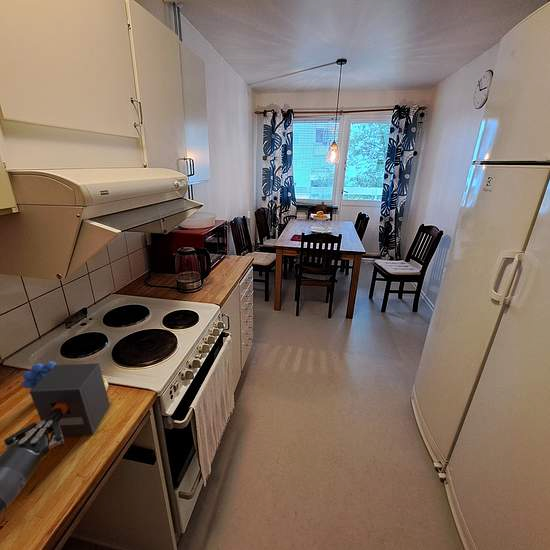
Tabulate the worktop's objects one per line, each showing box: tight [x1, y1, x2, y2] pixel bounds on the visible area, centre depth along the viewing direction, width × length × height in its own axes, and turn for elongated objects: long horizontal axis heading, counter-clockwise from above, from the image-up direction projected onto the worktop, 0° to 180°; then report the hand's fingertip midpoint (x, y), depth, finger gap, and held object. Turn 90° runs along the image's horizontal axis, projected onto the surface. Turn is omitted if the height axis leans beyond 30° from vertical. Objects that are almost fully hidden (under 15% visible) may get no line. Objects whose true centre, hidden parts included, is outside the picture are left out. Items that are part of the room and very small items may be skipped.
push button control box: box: [29, 363, 111, 438], centre depth 80 cm, size 12×10×16 cm
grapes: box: [21, 361, 58, 391], centre depth 90 cm, size 12×7×12 cm, turn 132°
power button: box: [52, 402, 69, 415], centre depth 74 cm, size 3×2×3 cm, turn 94°
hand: (58, 411), depth 74 cm, fingers closed
